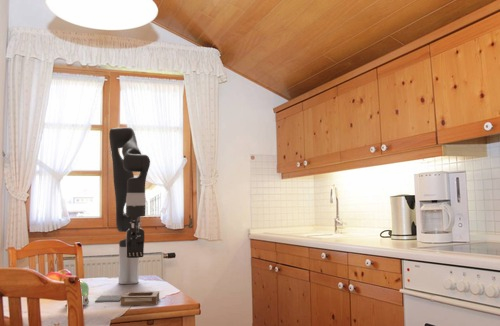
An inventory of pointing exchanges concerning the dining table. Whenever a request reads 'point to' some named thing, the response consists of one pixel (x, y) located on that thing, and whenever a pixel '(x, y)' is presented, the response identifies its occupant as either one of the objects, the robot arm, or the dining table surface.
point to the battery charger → (140, 245)
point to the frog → (84, 292)
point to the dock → (140, 298)
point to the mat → (109, 298)
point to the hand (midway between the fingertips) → (135, 247)
